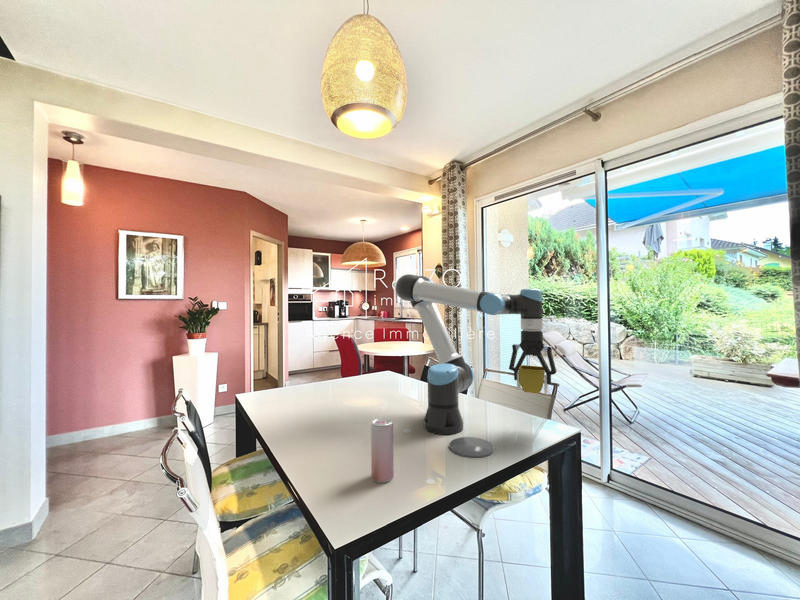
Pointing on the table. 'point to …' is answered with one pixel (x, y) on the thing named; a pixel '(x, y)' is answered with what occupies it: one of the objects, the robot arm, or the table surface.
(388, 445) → the beverage can
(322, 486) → the table surface
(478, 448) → the disc
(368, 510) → the table surface
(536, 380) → the flower pot
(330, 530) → the table surface
